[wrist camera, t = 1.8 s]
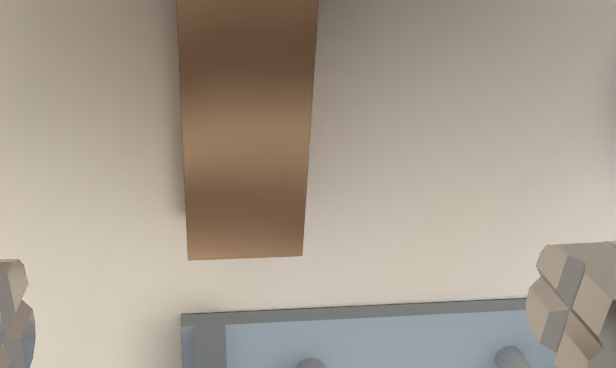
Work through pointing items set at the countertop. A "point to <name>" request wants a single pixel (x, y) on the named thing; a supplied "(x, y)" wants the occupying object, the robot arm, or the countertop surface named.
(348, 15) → the countertop surface
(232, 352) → the shelf stand
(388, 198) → the countertop surface
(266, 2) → the shelf board
